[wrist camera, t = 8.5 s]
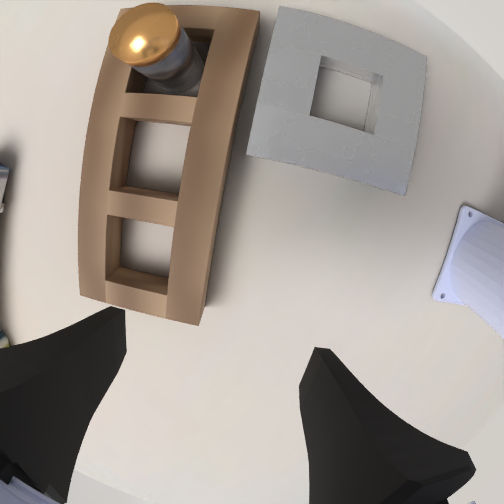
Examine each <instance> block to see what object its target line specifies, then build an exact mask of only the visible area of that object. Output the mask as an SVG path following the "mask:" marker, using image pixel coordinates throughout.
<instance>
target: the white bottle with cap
mask: <svg viewBox="0 0 504 504" xmlns="http://www.w3.org/2000/svg"><path fill="white" fill-rule="evenodd" d="M9 171H10V168H8V167H6V166H4V165H2V164H1V163H0V213H3V208H4V203H2V199H3V194H4V190H5V186H6V182H7V178H8V174H9ZM4 347H9V343H8V339H7V337H6V336H5V334H4V333H3V331H2V330H1V329H0V348H4Z"/></svg>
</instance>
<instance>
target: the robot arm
mask: <svg viewBox="0 0 504 504" xmlns="http://www.w3.org/2000/svg"><path fill="white" fill-rule="evenodd" d="M469 212H470V215H469V216H468V214H469ZM441 294H443V295H442V296H441ZM432 297H433V298H434V299H435V300H437V301H443V302H449V303H455V304H461V305H467V306H468V307H469V308H470V309H471V310H473V311H474V312H475V313H476V314H477V315H478V316H479V317H481V318H482V319H483V320H484V321H485V322H486V323H487V324H488V325H489V326H490V327H491V328H493V329H494V330H495V331H496V332H497V333H498V334H499V335H500V336H501V337H502V338H503V339H504V223H502V222H500V221H498V220H496V219H494V218H492V217H490V216H488V215H486V214H483V213H481V212H479V211H477V210H475V209H473V208H471V207H468V206H465V205H464V206H462V207H461V209H460V212H459V216H458V220H457V223H456V227H455V230H454V234H453V237H452V240H451V243H450V247H449V250H448V253H447V256H446V259H445V261H444V264H443V267H442V270H441V273H440V275H439V278H438V280H437V283H436V286H435V288H434V291H433V293H432ZM126 352H127V349H126V327H125V310H123V309H119V308H116V307H112V306H110V307H108V308H106V309H103V310H101V311H99V312H97V313H95V314H93V315H91V316H89V317H87V318H85V319H83V320H81V321H79V322H77V323H75V324H73V325H71V326H69V327H66V328H64V329H62V330H59V331H57V332H55V333H52V334H50V335H47V336H45V337H42V338H39V339H36V340H33V341H30V342H26V343H23V344H18V345H14V346H9V347H4V348H0V504H64V503H67V497H68V491H69V487H70V482H71V477H72V473H73V470H74V466H75V463H76V459H77V456H78V453H79V450H80V447H81V444H82V441H83V438H84V436H85V433H86V430H87V428H88V425H89V423H90V420H91V418H92V416H93V414H94V412H95V411H96V409H97V407H98V405H99V404H100V402H101V400H102V399H103V397H104V395H105V393H106V392H107V390H108V388H109V387H110V385H111V383H112V382H113V380H114V378H115V376H116V375H117V373H118V371H119V369H120V366H121V364H122V362H123V359H124V357H125V354H126ZM299 399H300V411H301V417H302V423H303V429H304V435H305V440H306V446H307V452H308V460H309V482H310V488H309V504H449V503H448V500H447V498H448V497H449V496H451V495H452V494H453V493H455V492H456V491H457V490H458V489H460V488H461V487H462V486H463V485H465V484H466V483H467V482H468V481H469V480H470V479H471V478H472V477H473V475H474V473H475V471H476V468H475V466H474V464H473V462H472V460H471V458H470V456H469V454H468V452H467V451H464V450H461V449H458V448H456V447H453V446H450V445H448V444H445V443H443V442H440V441H438V440H436V439H434V438H432V437H430V436H428V435H426V434H425V433H423V432H421V431H419V430H418V429H416V428H414V427H413V426H411V425H410V424H408V423H407V422H405V421H404V420H402V419H401V418H399V417H398V416H397V415H395V414H394V413H393V412H392V411H390V410H389V409H388V408H387V407H385V406H384V405H383V404H382V403H381V402H380V401H379V400H378V399H376V398H375V397H374V396H373V395H372V394H371V393H370V392H369V391H368V390H367V389H366V388H365V387H364V386H363V385H362V384H361V383H360V382H359V381H358V379H357V378H356V377H355V376H354V375H353V374H352V373H351V372H350V371H349V370H348V368H347V367H346V366H345V365H344V364H343V363H342V362H341V360H340V359H339V358H338V357H337V356H336V355H335V354H334V353H333V352H332V351H331V350H330V349H326V348H318V347H315V348H314V350H313V353H312V355H311V358H310V360H309V363H308V365H307V368H306V370H305V373H304V375H303V377H302V380H301V382H300V385H299ZM468 504H476V503H475V501H473V502H470V503H468Z"/></svg>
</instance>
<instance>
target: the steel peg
mask: <svg viewBox="0 0 504 504" xmlns="http://www.w3.org/2000/svg"><path fill="white" fill-rule="evenodd" d="M109 47H110V50H111V52H112V54H113V55H114V56H115V57H117V58H118V59H120V60H121V61H123V62H125V63H126V64H128V65H129V66H131V67H132V68H134V69H135V70H137V71H138V72H140V73H142V74H143V75H145V76H146V77H148V78H149V79H151V80H152V81H153V82H155V83H156V84H158V85H159V86H161V87H162V88H164V89H165V90H167V91H170V92H182V91H185V90H188V89H190V88H191V87H193V86H194V85H195V84H196V83H197V82H198V81H199V80H200V78H201V76H202V74H203V69H204V66H203V61H202V59H201V57H200V56H199V54H198V52H197V50H196V49H195V47H194V45H193V44H192V42H191V40H190V39H189V37H188V36H187V34H186V32H185V31H184V29H183V27H182V26H181V24H180V23H179V21H178V19H177V18H176V16H175V15H174V13H173V12H172V10H171V9H170V8H169V7H167V6H166V5H163V4H160V3H146V4H142V5H139V6H136V7H134V8H132V9H130V10H129V11H127V12H126V13H125V14H123V15H122V16H121V17H120V18H119V19H118V20H117V22H116V23H115V24H114V26H113V28H112V30H111V32H110V36H109Z"/></svg>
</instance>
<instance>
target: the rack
mask: <svg viewBox="0 0 504 504" xmlns="http://www.w3.org/2000/svg"><path fill="white" fill-rule="evenodd" d="M166 6H167V7H169V8H170V9H171V10H172V12H173V13H174V15H175V16H176V18H177V19H178V21H179V23H180V24H181V26H182V27H183V29H184V31H185V32H186V34H187V36H188V37H189V39H190V40H191V42H201V43H211V44H210V48H209V52H208V55H207V59H206V63H205V67H204V71H203V75H202V79H201V83H200V87H199V91H198V96H197V97H187V96H177V95H164V94H146V93H142V91H143V87H144V83H145V79H146V76H145V75H143V74H142V73H140V72H138V71H137V70H135V69H134V68H132V67H131V66H129V65H128V64H126V63H125V62H123V61H121V60H120V59H118V58H117V57H115V56H114V55H113V54H112V52H111V50H110V47H109V43H108V46H107V49H106V52H105V56H104V59H103V62H102V66H101V70H100V73H99V77H98V81H97V85H96V89H95V94H94V98H93V103H92V107H91V112H90V118H89V123H88V129H87V135H86V141H85V148H84V156H83V164H82V173H81V184H80V197H79V217H78V267H79V287H80V295H81V296H85V297H88V298H91V299H95V300H98V301H101V302H105V303H108V304H112V305H115V306H119V307H123V308H126V309H130V310H134V311H137V312H141V313H145V314H149V315H153V316H157V317H161V318H166V319H170V320H174V321H179V322H183V323H187V324H192V325H197V326H199V323H200V320H201V317H202V314H203V311H204V307H205V301H206V294H207V287H208V281H209V274H210V268H211V262H212V256H213V250H214V244H215V238H216V232H217V226H218V220H219V215H220V209H221V203H222V198H223V193H224V187H225V182H226V177H227V172H228V166H229V161H230V156H231V151H232V146H233V141H234V137H235V132H236V127H237V122H238V118H239V113H240V108H241V104H242V99H243V95H244V90H245V86H246V81H247V77H248V73H249V69H250V64H251V60H252V56H253V52H254V48H255V44H256V40H257V36H258V32H259V28H260V11H255V10H247V9H239V8H229V7H217V6H196V5H166ZM130 9H132V8H124V9H121V10H120V12H119V15H118V17H117V20H118V19H119V18H120V17H121V16H122V15H123V14H125V13H126V12H127V11H129V10H130ZM117 20H116V22H117ZM136 121H145V122H157V123H167V124H176V125H185V126H191V128H190V133H189V138H188V144H187V149H186V154H185V160H184V166H183V171H182V177H181V184H180V190H179V194H174V193H168V192H162V191H156V190H149V189H143V188H136V187H130V186H126V181H127V173H128V166H129V159H130V153H131V146H132V140H133V135H134V129H135V124H136ZM123 218H129V219H134V220H139V221H145V222H150V223H155V224H161V225H166V226H171V227H174V233H173V241H172V250H171V259H170V269H169V278H166V277H161V276H157V275H153V274H148V273H144V272H139V271H135V270H131V269H127V268H122V267H120V258H121V237H122V222H123Z"/></svg>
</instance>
